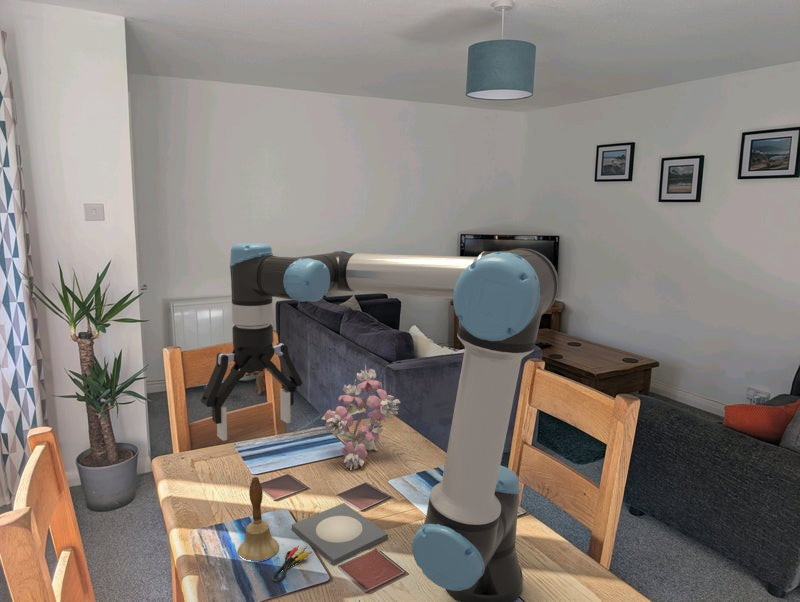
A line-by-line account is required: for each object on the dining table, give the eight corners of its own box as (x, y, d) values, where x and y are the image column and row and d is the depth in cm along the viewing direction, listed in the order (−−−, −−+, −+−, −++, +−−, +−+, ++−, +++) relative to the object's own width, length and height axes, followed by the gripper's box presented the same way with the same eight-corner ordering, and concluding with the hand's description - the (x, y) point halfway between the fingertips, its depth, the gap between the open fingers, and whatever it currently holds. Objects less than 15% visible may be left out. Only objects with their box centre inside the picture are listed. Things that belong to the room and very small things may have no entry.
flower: (293, 447, 161) (311, 382, 148) (350, 417, 177) (371, 357, 164) (339, 497, 151) (363, 432, 139) (394, 461, 168) (420, 400, 155)
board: (387, 538, 121) (387, 533, 121) (333, 565, 112) (333, 559, 112) (343, 507, 133) (343, 502, 133) (291, 529, 124) (291, 523, 124)
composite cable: (279, 586, 106) (279, 574, 106) (260, 577, 109) (260, 565, 108) (313, 558, 115) (313, 547, 114) (295, 550, 117) (294, 539, 117)
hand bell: (252, 568, 111) (250, 492, 108) (229, 550, 116) (227, 478, 114) (287, 549, 117) (286, 477, 114) (264, 533, 122) (262, 464, 120)
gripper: (299, 313, 119) (299, 409, 123) (179, 329, 103) (184, 439, 107) (318, 319, 114) (318, 419, 117) (196, 337, 97) (200, 453, 101)
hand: (255, 429), depth 112 cm, fingers open, 13 cm apart
